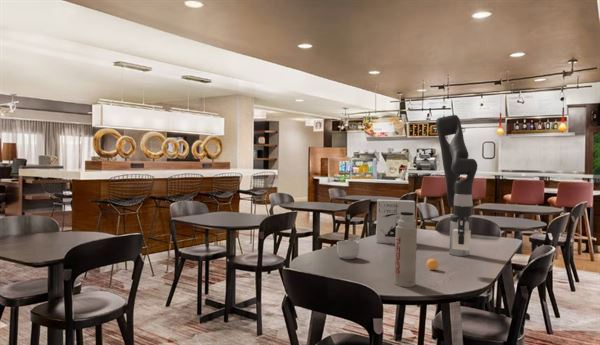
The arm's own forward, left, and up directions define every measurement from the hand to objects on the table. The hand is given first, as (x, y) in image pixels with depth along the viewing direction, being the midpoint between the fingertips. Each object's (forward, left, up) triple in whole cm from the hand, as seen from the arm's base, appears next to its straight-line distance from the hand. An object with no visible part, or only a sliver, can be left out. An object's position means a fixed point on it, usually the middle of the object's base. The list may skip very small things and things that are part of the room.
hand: (461, 242), depth 196 cm
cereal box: (-15, -71, -13) cm, 74 cm away
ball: (+8, -8, -11) cm, 16 cm away
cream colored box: (0, 0, -2) cm, 2 cm away
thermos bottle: (+34, +8, -13) cm, 38 cm away
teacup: (+32, -42, -13) cm, 55 cm away
